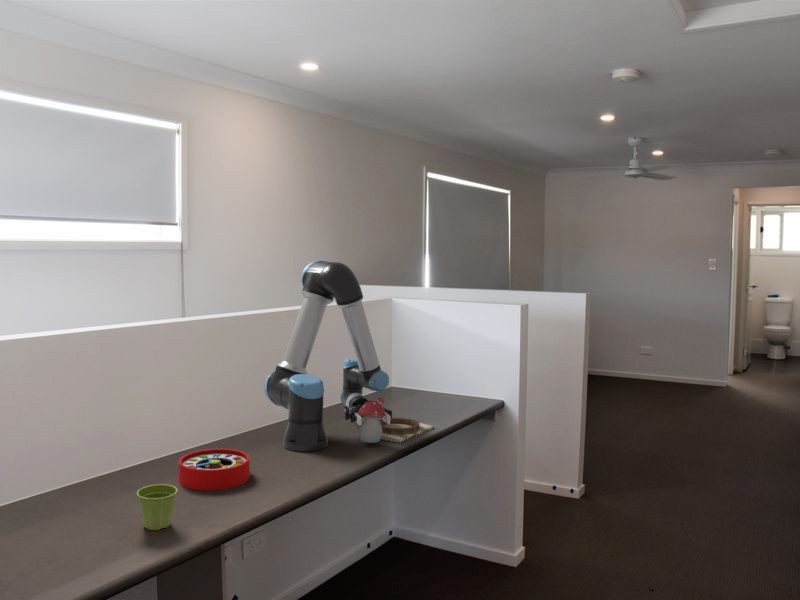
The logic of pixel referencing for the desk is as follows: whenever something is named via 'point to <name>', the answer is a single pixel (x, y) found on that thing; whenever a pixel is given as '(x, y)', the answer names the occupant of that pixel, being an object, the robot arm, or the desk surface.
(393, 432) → the collar board
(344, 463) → the desk surface
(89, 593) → the desk surface
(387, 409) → the robot arm
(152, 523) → the plant pot
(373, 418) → the decorative ornament
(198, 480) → the toy clock
